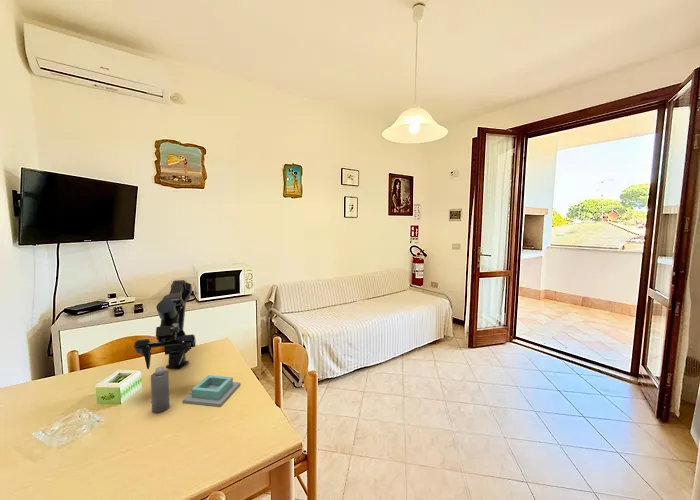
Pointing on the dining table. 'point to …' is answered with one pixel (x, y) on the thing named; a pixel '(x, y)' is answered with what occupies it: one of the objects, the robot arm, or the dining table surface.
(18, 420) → the dining table surface
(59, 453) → the dining table surface
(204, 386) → the socket
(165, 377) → the plug
